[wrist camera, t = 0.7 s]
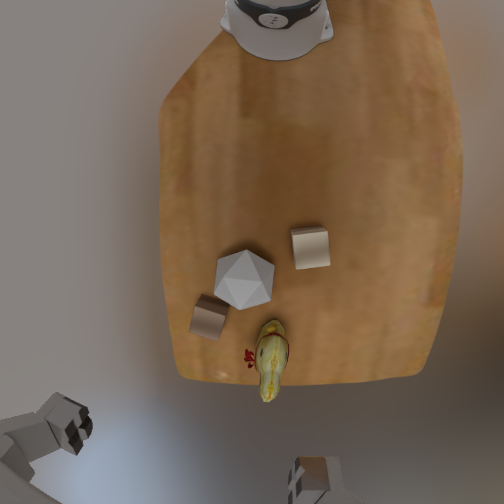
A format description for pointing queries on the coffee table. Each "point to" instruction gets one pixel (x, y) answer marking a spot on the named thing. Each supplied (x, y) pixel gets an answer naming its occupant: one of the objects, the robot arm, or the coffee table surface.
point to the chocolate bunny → (270, 358)
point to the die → (244, 280)
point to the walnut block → (209, 317)
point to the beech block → (310, 247)
